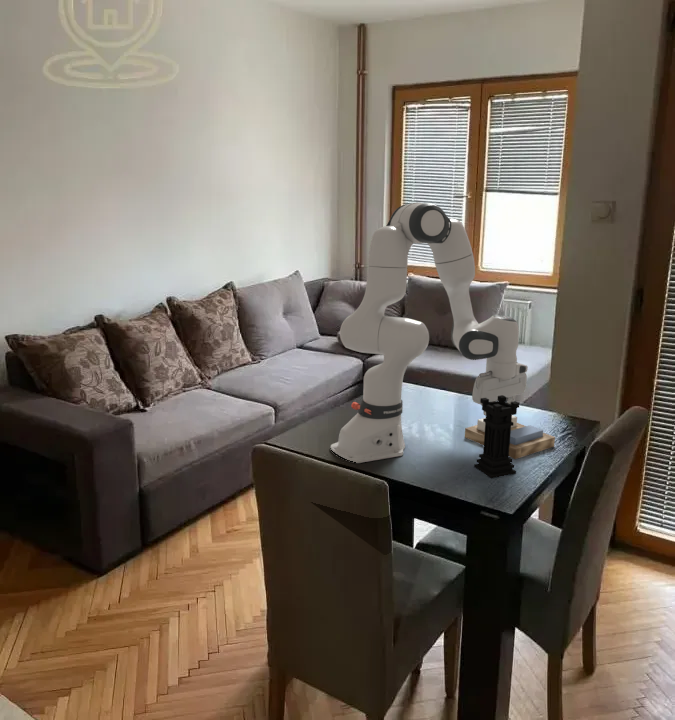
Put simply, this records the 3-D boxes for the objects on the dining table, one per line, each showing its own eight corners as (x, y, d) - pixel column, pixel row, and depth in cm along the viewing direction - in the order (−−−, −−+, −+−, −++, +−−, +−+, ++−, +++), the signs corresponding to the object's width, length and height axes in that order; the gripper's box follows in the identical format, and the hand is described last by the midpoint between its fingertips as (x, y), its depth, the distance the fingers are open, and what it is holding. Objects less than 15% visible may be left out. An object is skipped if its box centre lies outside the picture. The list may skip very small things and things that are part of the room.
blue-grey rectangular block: (514, 448, 195) (515, 438, 194) (501, 442, 199) (502, 433, 198) (542, 439, 202) (543, 430, 201) (529, 434, 206) (529, 425, 205)
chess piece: (491, 478, 180) (496, 407, 175) (473, 467, 187) (478, 398, 182) (515, 473, 183) (521, 403, 178) (497, 462, 190) (502, 394, 185)
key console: (515, 459, 192) (516, 449, 192) (464, 437, 208) (465, 428, 207) (554, 446, 202) (555, 437, 201) (502, 426, 218) (503, 417, 217)
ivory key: (489, 434, 203) (489, 424, 202) (477, 429, 207) (477, 419, 206) (516, 426, 209) (517, 417, 209) (504, 421, 213) (504, 412, 213)
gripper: (484, 377, 195) (481, 422, 199) (531, 365, 207) (527, 408, 210) (468, 371, 200) (466, 415, 204) (515, 361, 212) (512, 403, 215)
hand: (497, 412), depth 207 cm, fingers open, 8 cm apart
